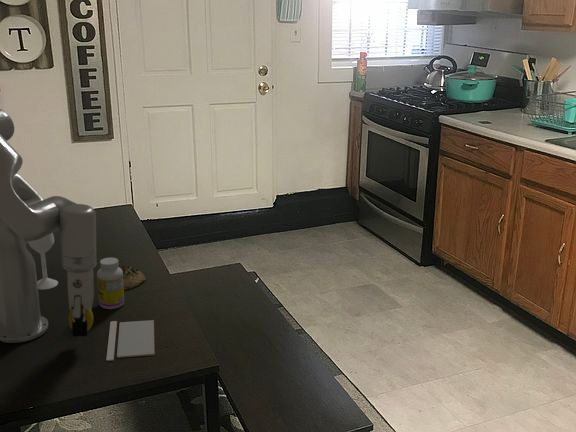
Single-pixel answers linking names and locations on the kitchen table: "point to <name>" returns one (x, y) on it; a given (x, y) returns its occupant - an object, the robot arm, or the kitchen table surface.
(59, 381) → the kitchen table surface
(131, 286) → the bread roll
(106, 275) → the supplement bottle
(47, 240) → the champagne flute
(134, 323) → the mat
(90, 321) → the lemon
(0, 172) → the robot arm
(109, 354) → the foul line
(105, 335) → the kitchen table surface
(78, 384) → the kitchen table surface
